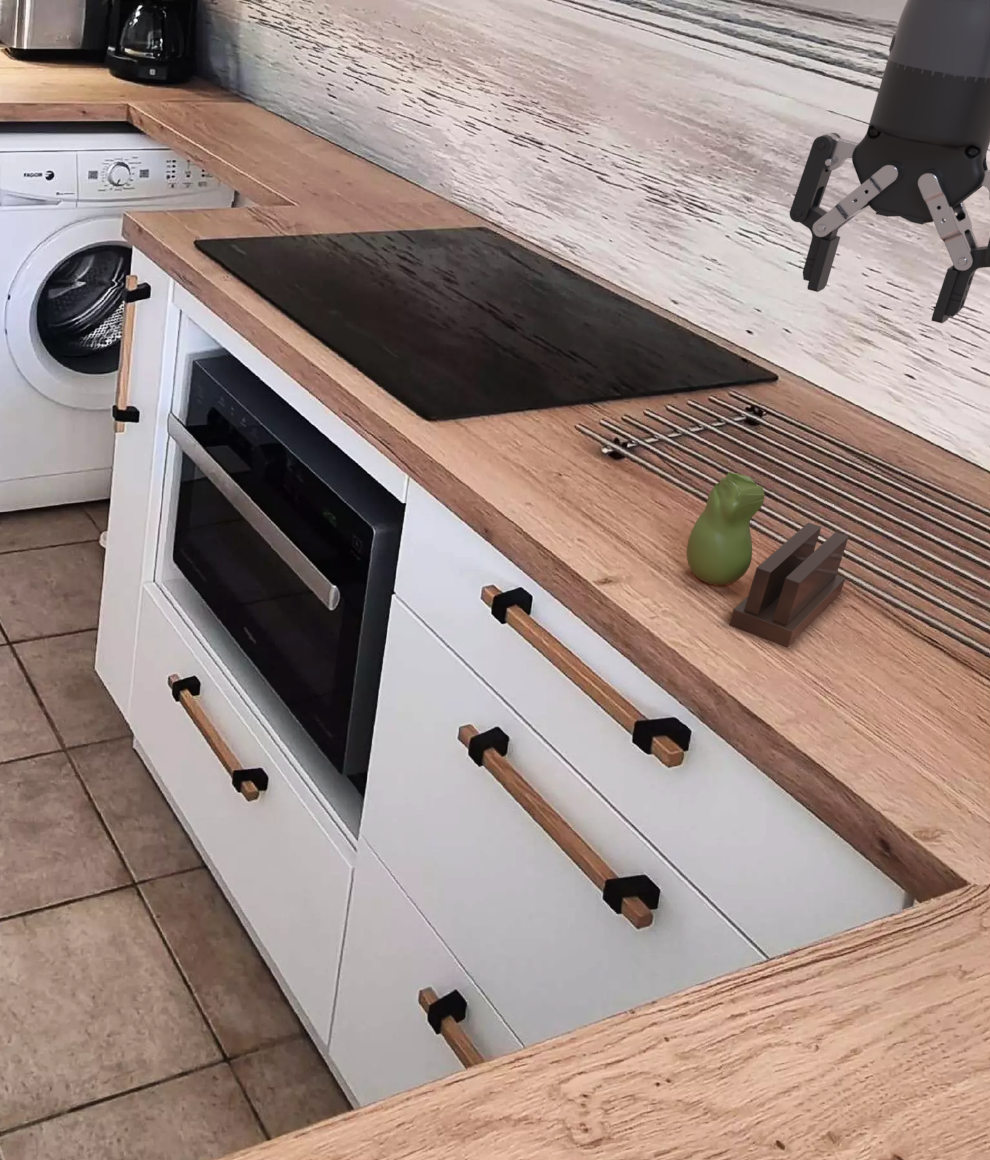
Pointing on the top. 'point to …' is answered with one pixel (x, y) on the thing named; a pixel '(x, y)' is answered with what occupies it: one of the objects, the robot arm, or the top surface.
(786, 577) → the holder
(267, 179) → the top surface
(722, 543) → the pear
